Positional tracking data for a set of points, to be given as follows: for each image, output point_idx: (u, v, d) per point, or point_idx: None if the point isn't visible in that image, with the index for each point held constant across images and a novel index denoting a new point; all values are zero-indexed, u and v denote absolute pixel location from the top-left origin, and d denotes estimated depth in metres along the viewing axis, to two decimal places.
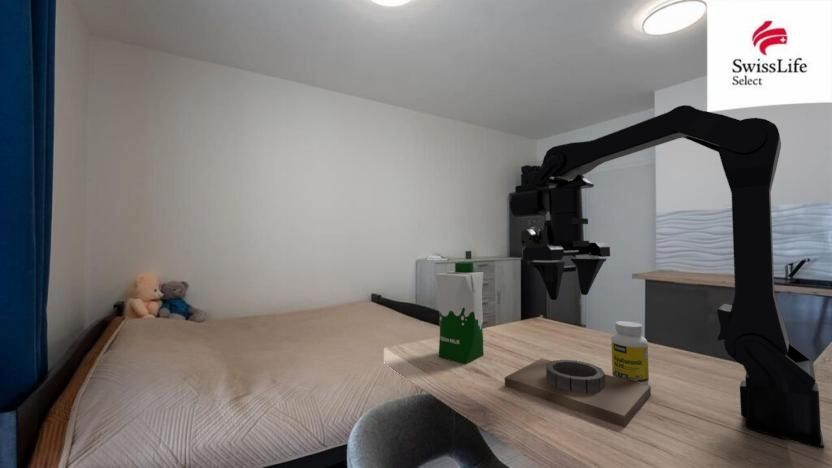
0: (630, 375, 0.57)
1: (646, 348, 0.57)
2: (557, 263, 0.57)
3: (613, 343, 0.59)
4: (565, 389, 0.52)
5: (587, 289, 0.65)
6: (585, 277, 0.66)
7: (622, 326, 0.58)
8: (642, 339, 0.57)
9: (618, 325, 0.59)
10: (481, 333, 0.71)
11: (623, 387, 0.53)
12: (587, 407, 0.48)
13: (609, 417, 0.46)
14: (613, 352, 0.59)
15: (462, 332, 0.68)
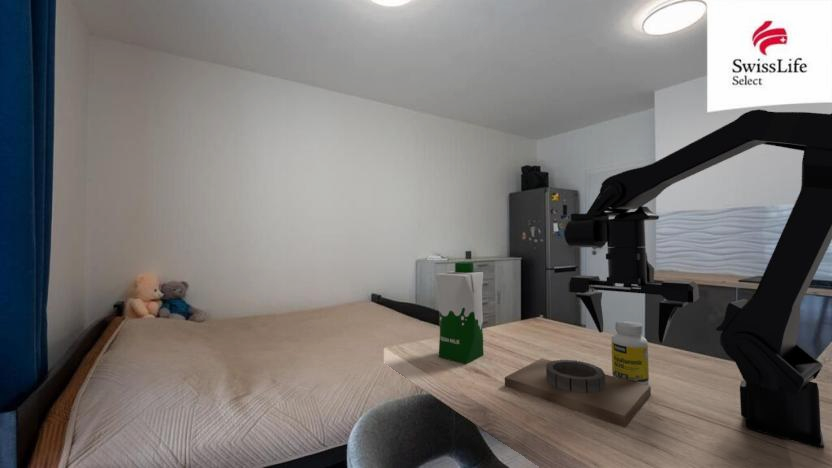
0: (630, 375, 0.57)
1: (646, 348, 0.57)
2: (579, 295, 0.62)
3: (613, 343, 0.59)
4: (565, 389, 0.52)
5: (659, 335, 0.55)
6: None
7: (622, 326, 0.58)
8: (642, 339, 0.57)
9: (618, 325, 0.59)
10: (481, 333, 0.71)
11: (623, 387, 0.53)
12: (587, 407, 0.48)
13: (609, 417, 0.46)
14: (613, 352, 0.59)
15: (462, 332, 0.68)
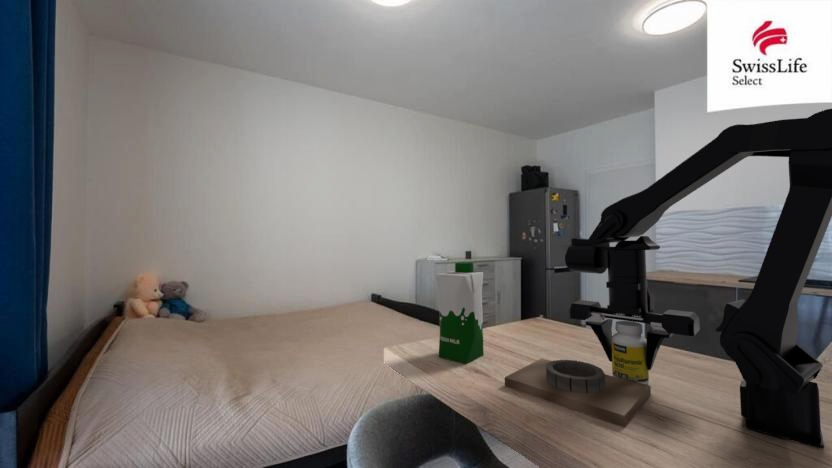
0: (630, 374, 0.57)
1: (646, 348, 0.57)
2: (589, 324, 0.61)
3: (613, 343, 0.59)
4: (565, 389, 0.52)
5: (646, 363, 0.56)
6: None
7: (622, 326, 0.58)
8: (642, 339, 0.57)
9: (618, 325, 0.59)
10: (481, 333, 0.71)
11: (623, 387, 0.53)
12: (587, 407, 0.48)
13: (609, 417, 0.46)
14: (613, 352, 0.59)
15: (462, 332, 0.69)
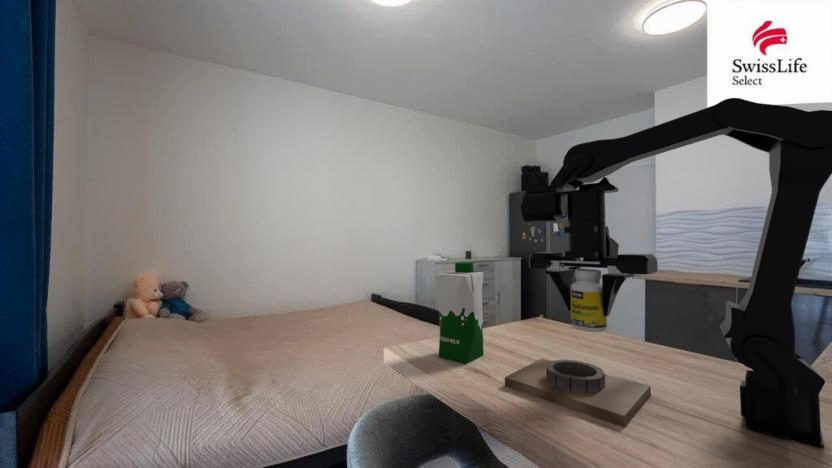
0: (586, 320, 0.55)
1: None
2: (548, 272, 0.59)
3: (571, 290, 0.57)
4: (565, 389, 0.52)
5: (603, 309, 0.54)
6: None
7: (580, 272, 0.56)
8: (600, 284, 0.55)
9: (576, 271, 0.57)
10: (481, 333, 0.71)
11: (623, 387, 0.53)
12: (587, 407, 0.48)
13: (609, 417, 0.46)
14: (571, 299, 0.57)
15: (462, 332, 0.69)
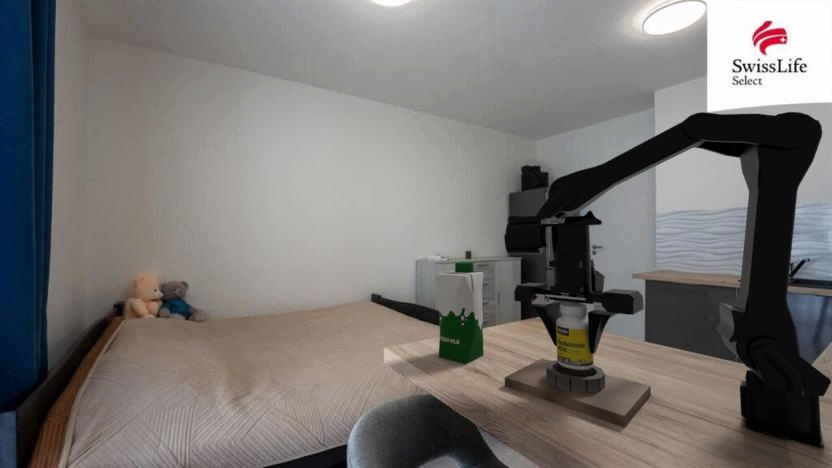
0: (572, 358, 0.53)
1: None
2: (533, 306, 0.57)
3: (557, 326, 0.55)
4: (565, 389, 0.52)
5: (590, 347, 0.53)
6: None
7: (565, 307, 0.54)
8: (586, 320, 0.54)
9: (562, 306, 0.55)
10: (481, 333, 0.71)
11: (623, 387, 0.53)
12: (587, 407, 0.48)
13: (609, 417, 0.46)
14: (557, 335, 0.56)
15: (462, 332, 0.68)
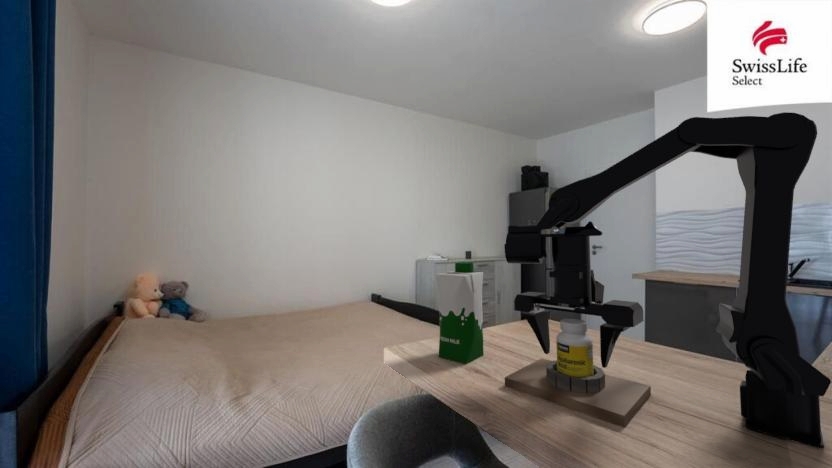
0: None
1: (590, 347, 0.53)
2: (523, 314, 0.59)
3: (557, 342, 0.55)
4: (565, 389, 0.52)
5: (601, 360, 0.52)
6: None
7: (566, 324, 0.54)
8: (586, 337, 0.54)
9: (562, 323, 0.55)
10: (481, 333, 0.71)
11: (623, 387, 0.53)
12: (587, 407, 0.48)
13: (609, 417, 0.46)
14: (557, 352, 0.56)
15: (462, 332, 0.68)
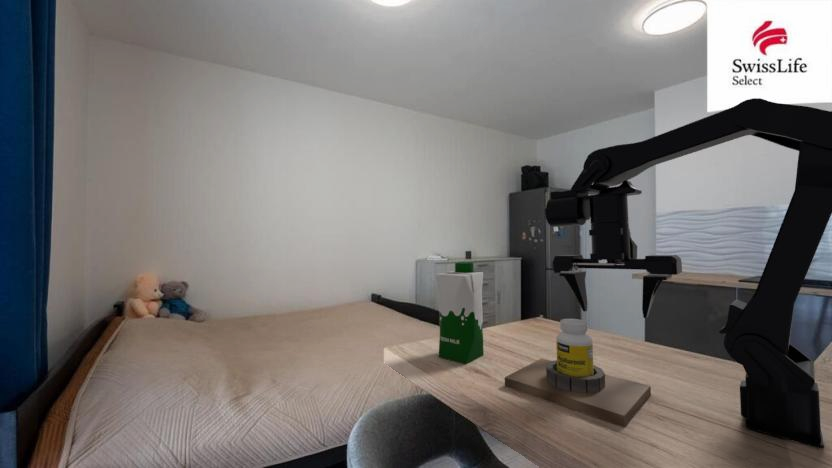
0: (573, 375, 0.53)
1: (590, 347, 0.53)
2: (562, 274, 0.61)
3: (557, 342, 0.55)
4: (565, 389, 0.52)
5: (643, 311, 0.54)
6: None
7: (566, 324, 0.54)
8: (586, 337, 0.54)
9: (562, 323, 0.55)
10: (481, 333, 0.71)
11: (623, 387, 0.53)
12: (587, 407, 0.48)
13: (609, 417, 0.46)
14: (557, 351, 0.56)
15: (462, 332, 0.68)
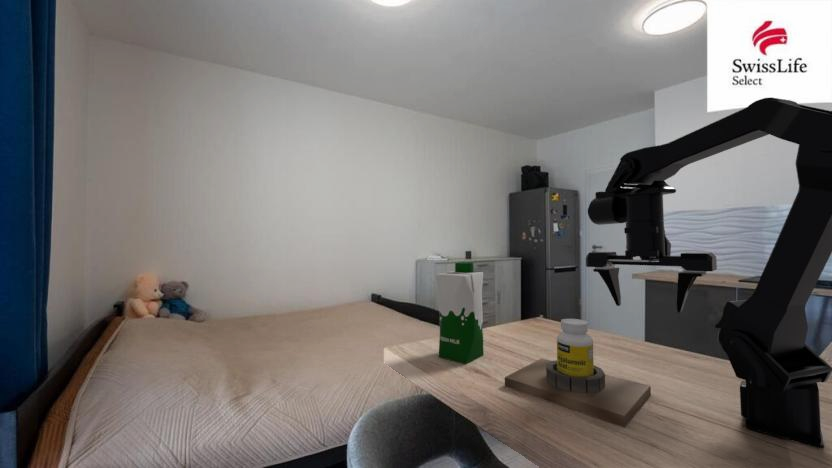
0: None
1: (590, 347, 0.53)
2: (597, 270, 0.64)
3: (558, 342, 0.55)
4: (565, 389, 0.52)
5: (677, 306, 0.57)
6: None
7: (566, 324, 0.54)
8: (587, 338, 0.53)
9: (563, 323, 0.55)
10: (481, 333, 0.71)
11: (623, 387, 0.53)
12: (587, 407, 0.48)
13: (609, 417, 0.46)
14: (557, 351, 0.56)
15: (462, 332, 0.69)
